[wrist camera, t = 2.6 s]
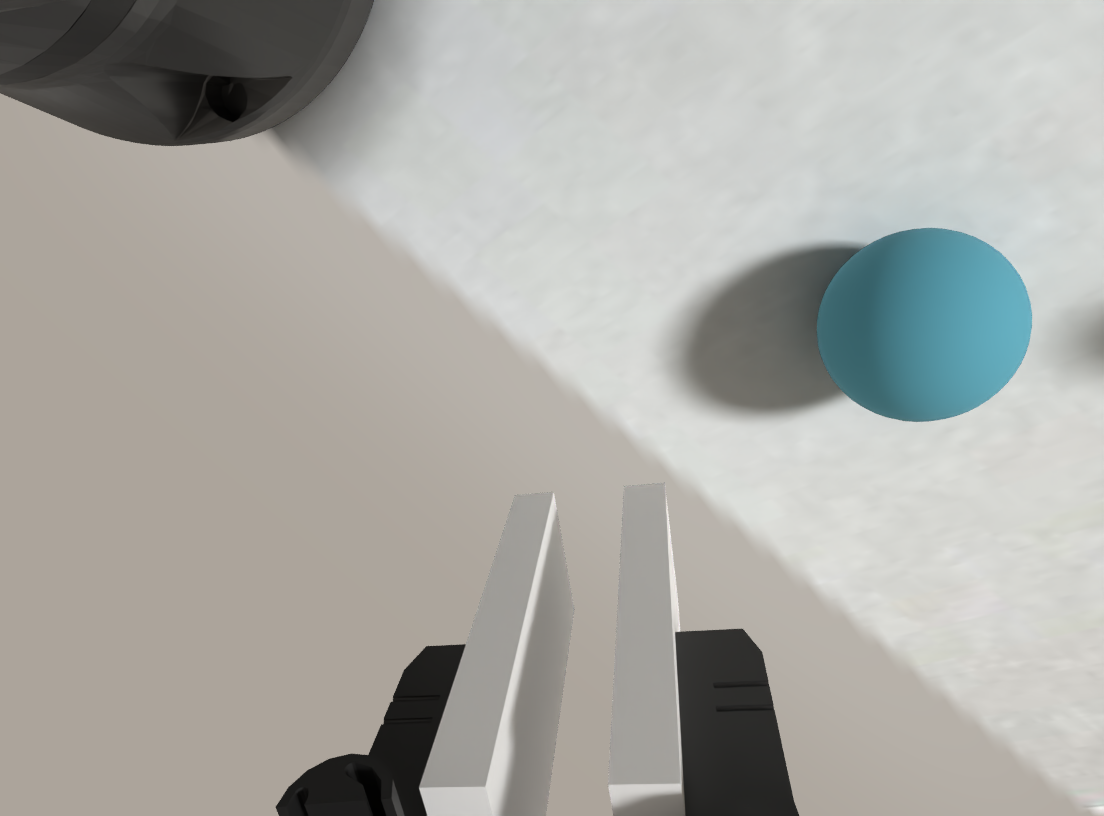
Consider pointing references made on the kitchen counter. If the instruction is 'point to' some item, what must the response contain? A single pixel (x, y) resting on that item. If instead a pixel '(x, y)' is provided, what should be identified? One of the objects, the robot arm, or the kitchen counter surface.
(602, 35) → the kitchen counter surface
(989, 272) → the ball
